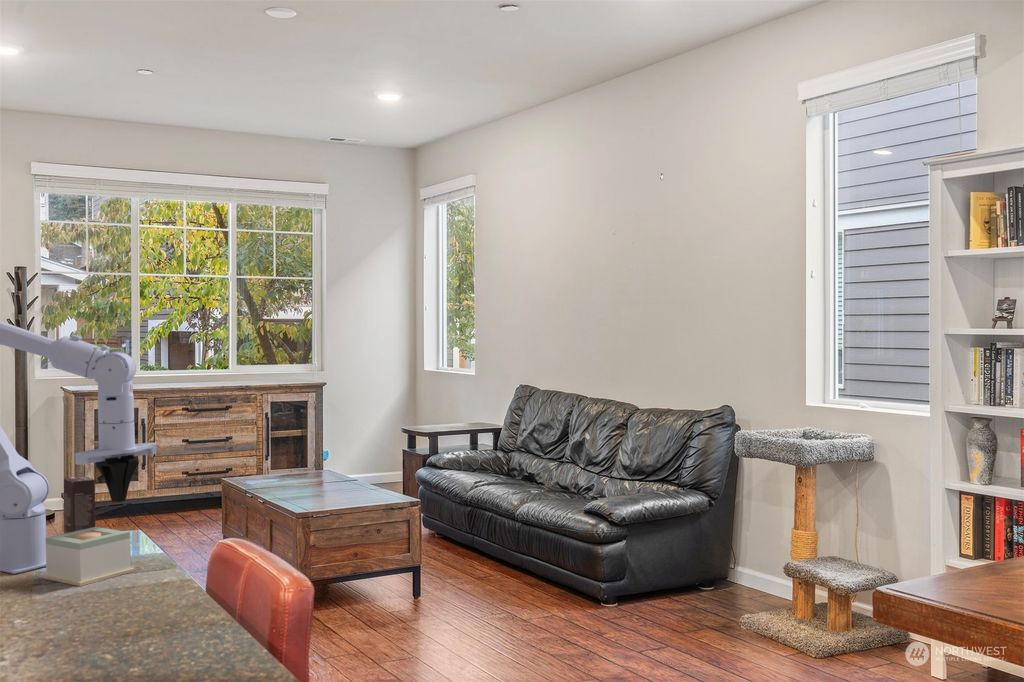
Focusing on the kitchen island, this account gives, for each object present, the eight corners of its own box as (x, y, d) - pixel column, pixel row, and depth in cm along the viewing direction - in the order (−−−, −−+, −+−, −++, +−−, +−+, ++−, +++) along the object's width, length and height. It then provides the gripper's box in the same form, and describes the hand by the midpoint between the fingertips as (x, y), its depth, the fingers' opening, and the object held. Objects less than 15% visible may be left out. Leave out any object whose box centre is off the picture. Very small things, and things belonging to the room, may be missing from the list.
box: (97, 542, 176) (95, 478, 176) (71, 546, 173) (70, 481, 173) (88, 537, 181) (86, 475, 181) (63, 541, 178) (61, 478, 178)
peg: (70, 573, 152) (69, 536, 152) (92, 567, 156) (91, 531, 156) (85, 576, 150) (84, 538, 150) (107, 570, 154) (106, 533, 154)
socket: (41, 578, 151) (40, 538, 151) (97, 564, 160) (96, 526, 160) (79, 586, 146) (78, 544, 146) (135, 571, 155) (134, 531, 155)
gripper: (92, 427, 153) (95, 510, 153) (167, 418, 165) (169, 495, 165) (66, 425, 156) (68, 507, 157) (141, 417, 169) (143, 492, 169)
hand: (118, 501), depth 161 cm, fingers closed
